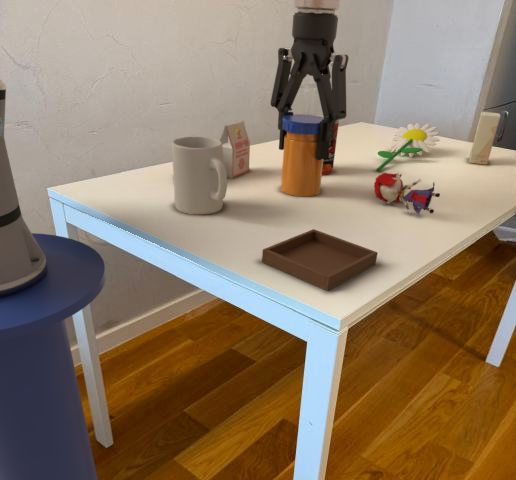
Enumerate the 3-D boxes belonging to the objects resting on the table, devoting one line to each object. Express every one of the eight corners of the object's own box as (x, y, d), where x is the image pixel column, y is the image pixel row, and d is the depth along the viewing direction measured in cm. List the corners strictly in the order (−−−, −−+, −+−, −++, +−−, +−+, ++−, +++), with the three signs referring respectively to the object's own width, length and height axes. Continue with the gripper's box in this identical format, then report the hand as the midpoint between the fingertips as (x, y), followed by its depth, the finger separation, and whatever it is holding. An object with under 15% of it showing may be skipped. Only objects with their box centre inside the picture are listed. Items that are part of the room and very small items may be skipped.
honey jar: (272, 189, 100) (276, 127, 94) (297, 182, 105) (302, 122, 98) (303, 199, 96) (309, 134, 89) (327, 191, 101) (335, 129, 94)
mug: (165, 204, 90) (161, 139, 84) (204, 195, 95) (203, 134, 89) (204, 224, 83) (202, 155, 77) (244, 214, 88) (246, 149, 81)
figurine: (418, 220, 87) (355, 197, 96) (445, 222, 92) (383, 199, 102) (431, 183, 84) (365, 162, 94) (458, 186, 89) (393, 166, 99)
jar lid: (337, 131, 94) (338, 120, 93) (308, 136, 89) (309, 125, 88) (301, 123, 99) (302, 112, 98) (272, 127, 94) (273, 116, 92)
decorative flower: (403, 186, 113) (444, 144, 131) (406, 164, 110) (447, 124, 128) (351, 178, 119) (397, 139, 137) (352, 158, 116) (399, 120, 134)
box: (486, 165, 123) (501, 116, 117) (468, 163, 124) (481, 114, 118) (486, 160, 127) (500, 112, 121) (468, 158, 128) (481, 111, 122)
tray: (261, 262, 72) (262, 249, 71) (312, 241, 79) (313, 228, 78) (327, 291, 66) (329, 277, 64) (375, 265, 73) (378, 252, 72)
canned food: (309, 176, 108) (314, 121, 102) (292, 166, 114) (296, 114, 108) (339, 173, 111) (346, 120, 105) (321, 164, 117) (327, 113, 111)
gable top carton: (217, 174, 107) (217, 124, 101) (234, 168, 112) (235, 119, 106) (232, 178, 105) (232, 127, 100) (249, 171, 110) (250, 122, 104)
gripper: (383, 16, 80) (360, 162, 93) (282, 9, 92) (274, 140, 104) (356, 14, 75) (336, 169, 88) (254, 8, 87) (249, 145, 100)
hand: (302, 153), depth 96 cm, fingers closed on jar lid, 8 cm apart
